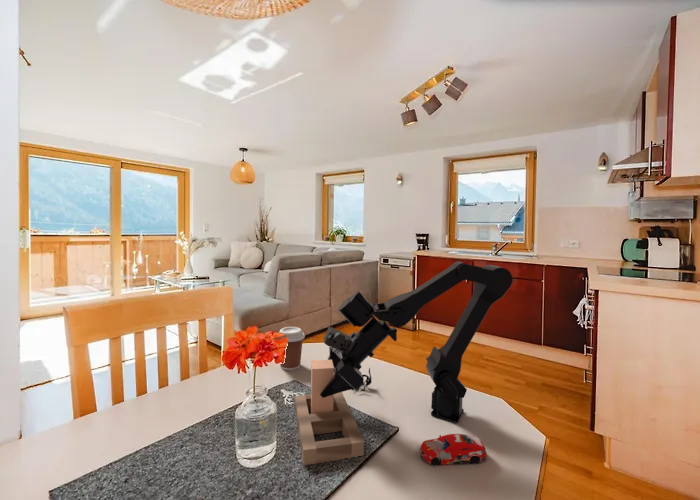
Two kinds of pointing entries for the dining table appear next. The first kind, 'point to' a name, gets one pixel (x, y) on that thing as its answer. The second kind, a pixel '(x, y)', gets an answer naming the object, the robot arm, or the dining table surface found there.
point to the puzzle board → (327, 431)
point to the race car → (453, 450)
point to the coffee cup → (293, 347)
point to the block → (321, 385)
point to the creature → (368, 382)
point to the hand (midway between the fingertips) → (320, 386)
